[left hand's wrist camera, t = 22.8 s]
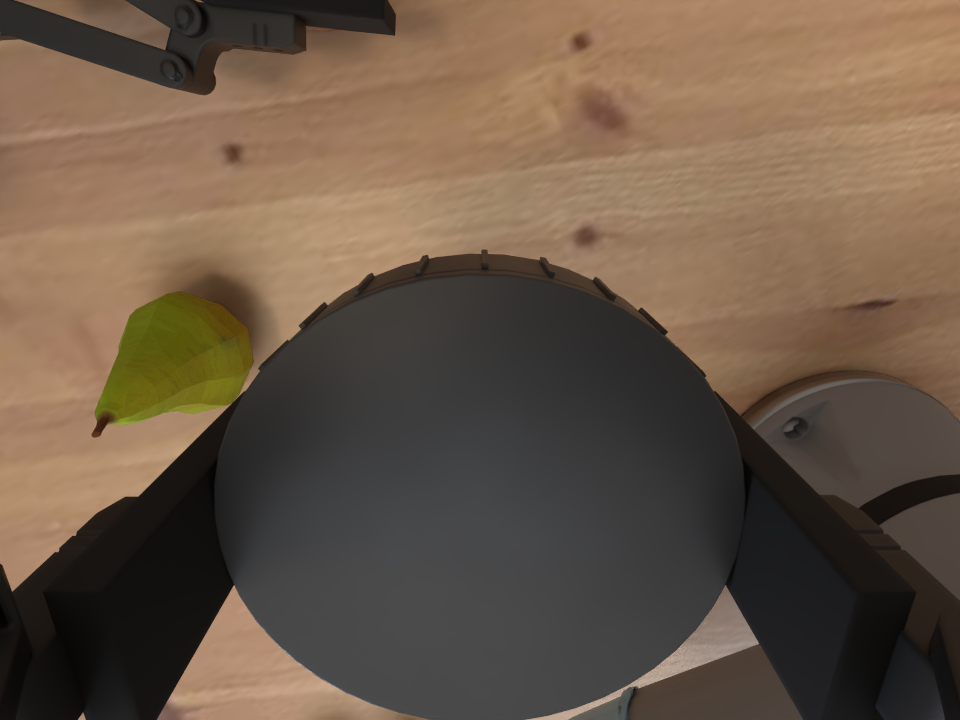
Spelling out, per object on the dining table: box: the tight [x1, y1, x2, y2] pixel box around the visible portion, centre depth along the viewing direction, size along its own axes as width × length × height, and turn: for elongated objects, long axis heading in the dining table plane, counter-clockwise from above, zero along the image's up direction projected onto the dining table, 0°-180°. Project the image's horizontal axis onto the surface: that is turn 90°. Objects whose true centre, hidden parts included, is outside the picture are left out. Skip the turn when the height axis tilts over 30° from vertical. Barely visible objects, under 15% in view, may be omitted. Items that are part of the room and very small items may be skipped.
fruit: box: [92, 292, 254, 437], centre depth 26 cm, size 6×6×12 cm
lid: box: [214, 250, 746, 720], centre depth 11 cm, size 10×10×2 cm
